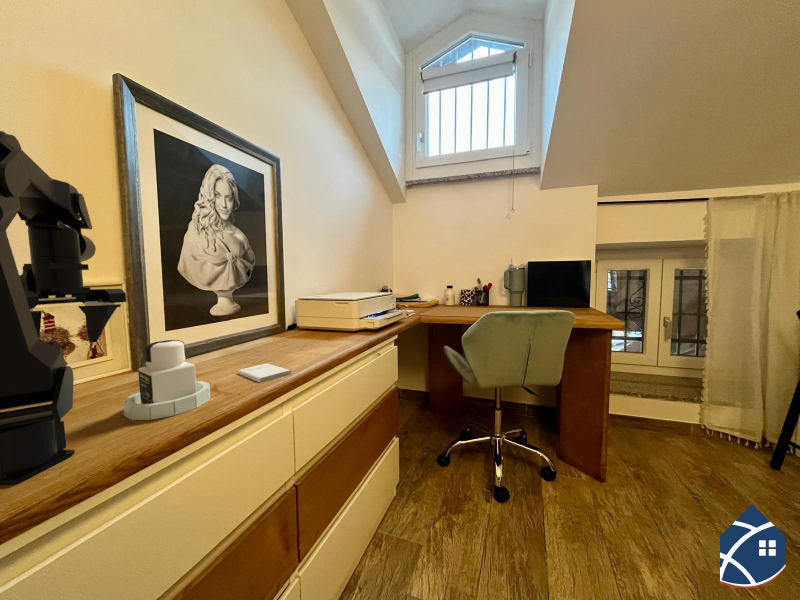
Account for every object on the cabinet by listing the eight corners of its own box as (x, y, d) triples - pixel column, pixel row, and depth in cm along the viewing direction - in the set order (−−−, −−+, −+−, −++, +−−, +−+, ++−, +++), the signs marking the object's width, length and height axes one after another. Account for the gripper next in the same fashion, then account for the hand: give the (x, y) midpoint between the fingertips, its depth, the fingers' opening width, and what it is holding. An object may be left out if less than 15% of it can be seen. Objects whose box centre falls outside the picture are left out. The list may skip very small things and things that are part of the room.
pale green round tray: (176, 419, 52) (175, 405, 52) (105, 420, 52) (103, 406, 52) (223, 391, 65) (222, 380, 65) (165, 392, 65) (164, 381, 65)
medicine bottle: (140, 404, 58) (135, 343, 57) (183, 392, 64) (179, 336, 63) (153, 413, 54) (147, 347, 53) (197, 399, 59) (193, 339, 59)
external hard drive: (259, 384, 71) (237, 375, 79) (291, 375, 77) (268, 368, 85) (259, 378, 71) (237, 369, 78) (291, 369, 77) (267, 362, 85)
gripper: (72, 262, 61) (80, 338, 62) (-76, 254, 42) (-62, 363, 43) (125, 261, 61) (131, 337, 62) (-1, 252, 42) (11, 361, 43)
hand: (65, 347), depth 52 cm, fingers open, 9 cm apart
